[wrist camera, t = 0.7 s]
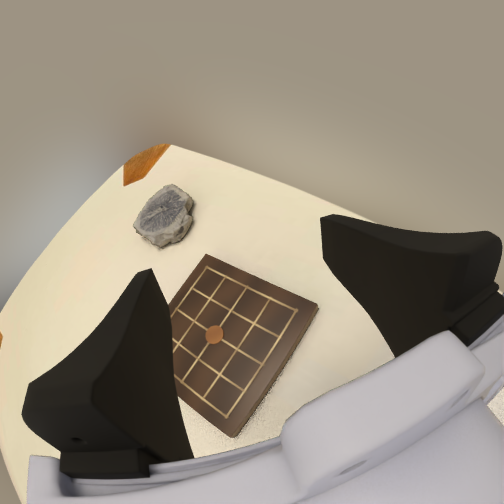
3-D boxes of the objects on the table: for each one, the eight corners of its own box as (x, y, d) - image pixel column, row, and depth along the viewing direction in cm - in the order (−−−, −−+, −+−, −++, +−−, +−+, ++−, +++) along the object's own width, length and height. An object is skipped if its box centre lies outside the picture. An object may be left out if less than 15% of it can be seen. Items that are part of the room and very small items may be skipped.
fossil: (195, 216, 36) (125, 239, 35) (203, 239, 39) (137, 260, 38) (187, 177, 44) (130, 197, 43) (193, 197, 47) (139, 215, 46)
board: (318, 308, 27) (317, 303, 26) (235, 437, 22) (230, 437, 21) (210, 258, 35) (205, 252, 34) (139, 356, 30) (133, 353, 29)
